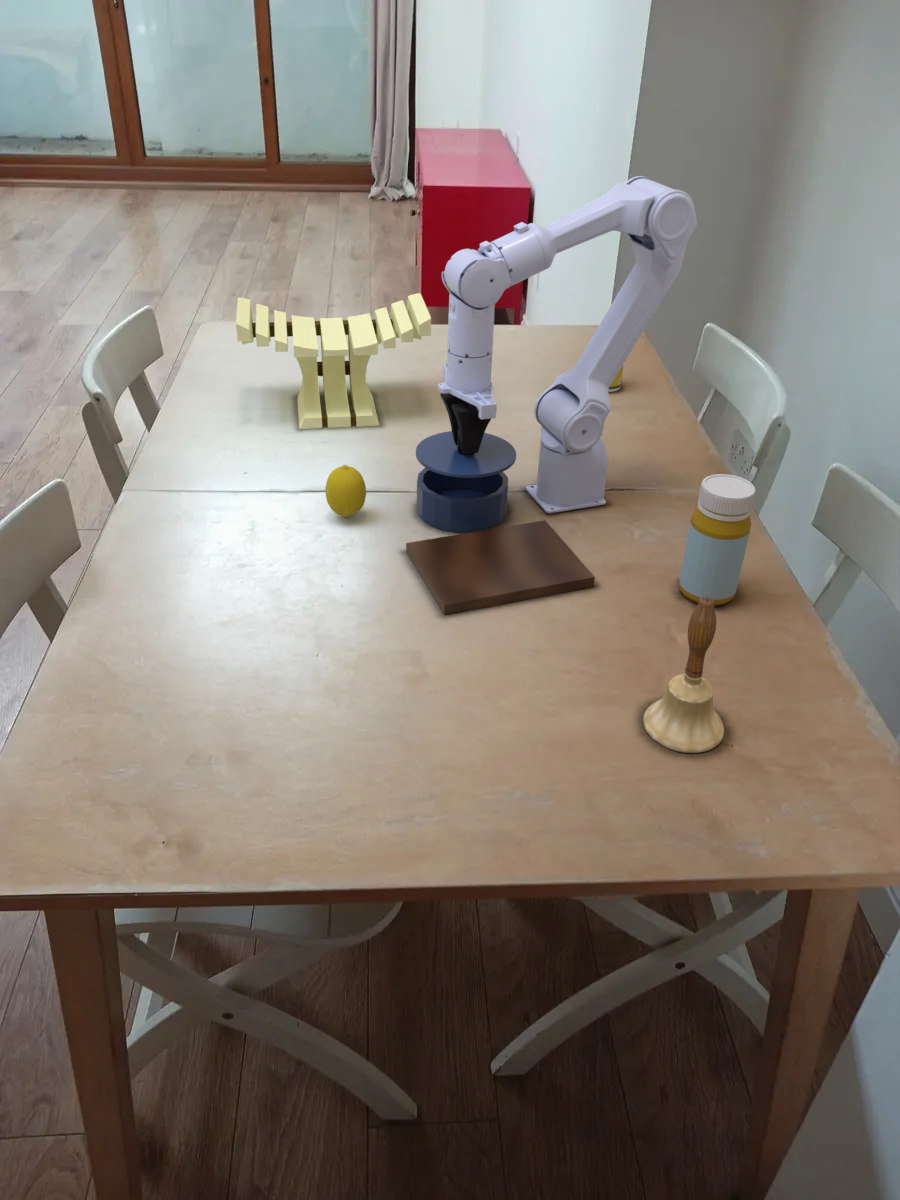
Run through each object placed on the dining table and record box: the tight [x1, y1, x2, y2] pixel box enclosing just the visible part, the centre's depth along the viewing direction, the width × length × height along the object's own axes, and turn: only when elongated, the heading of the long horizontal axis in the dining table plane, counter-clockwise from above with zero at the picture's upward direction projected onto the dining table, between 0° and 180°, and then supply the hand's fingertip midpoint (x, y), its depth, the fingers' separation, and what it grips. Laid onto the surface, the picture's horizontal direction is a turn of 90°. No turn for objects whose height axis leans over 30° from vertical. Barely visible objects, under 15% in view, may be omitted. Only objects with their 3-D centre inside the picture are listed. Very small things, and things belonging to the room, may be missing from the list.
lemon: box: [325, 464, 367, 519], centre depth 133 cm, size 6×6×8 cm
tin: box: [416, 467, 509, 534], centre depth 137 cm, size 13×13×5 cm
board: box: [405, 519, 596, 616], centre depth 125 cm, size 20×15×2 cm
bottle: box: [678, 473, 756, 607], centre depth 118 cm, size 7×7×15 cm
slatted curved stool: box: [235, 292, 432, 430], centre depth 161 cm, size 30×16×18 cm, turn 99°
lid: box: [415, 427, 517, 478], centre depth 131 cm, size 14×14×4 cm
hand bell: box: [642, 597, 725, 754], centre depth 97 cm, size 8×8×16 cm
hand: (466, 448), depth 131 cm, fingers closed on lid, 2 cm apart
